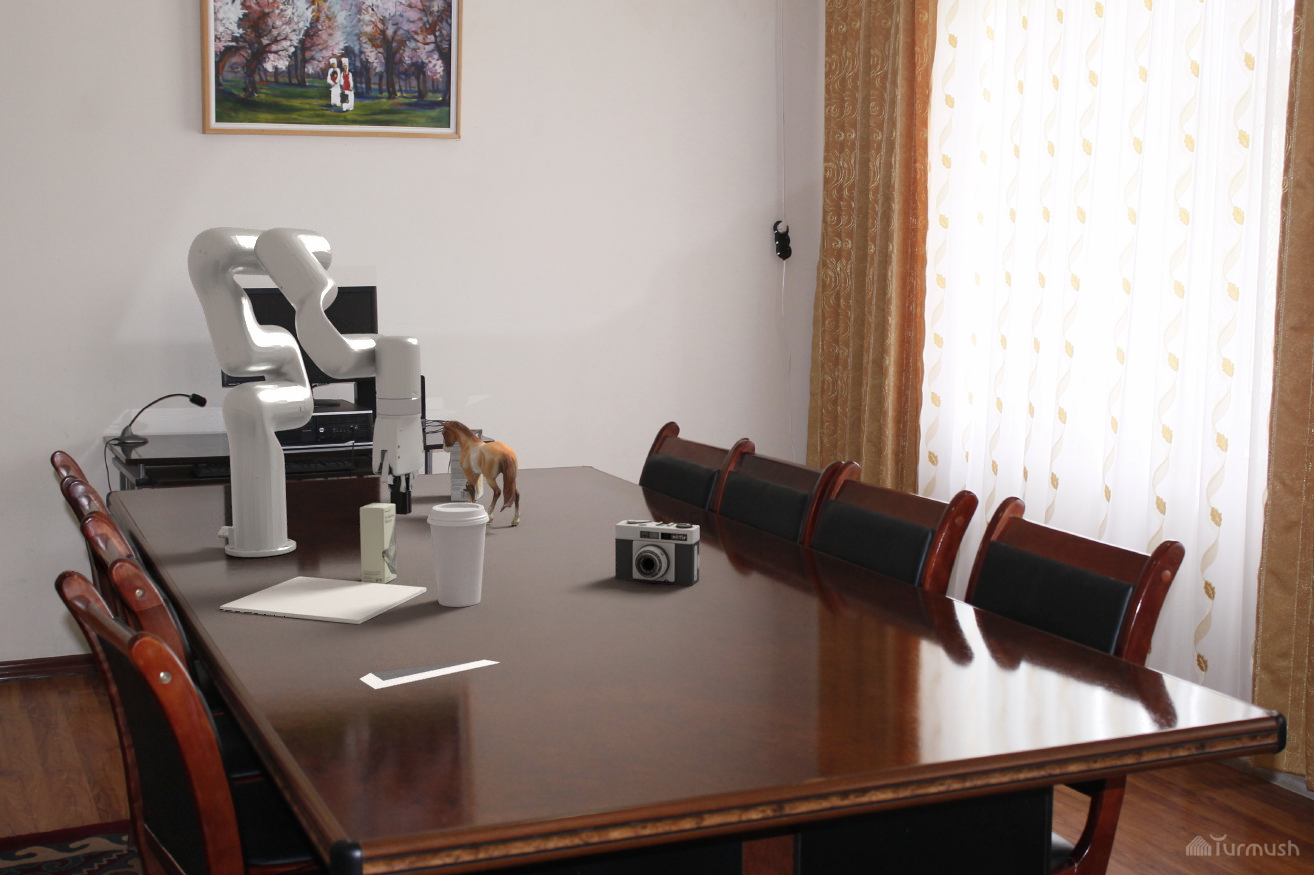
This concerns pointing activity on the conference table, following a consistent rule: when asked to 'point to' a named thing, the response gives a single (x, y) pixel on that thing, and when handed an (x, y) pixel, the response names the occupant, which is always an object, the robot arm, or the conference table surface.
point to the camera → (657, 552)
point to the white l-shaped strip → (418, 673)
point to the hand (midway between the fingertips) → (401, 513)
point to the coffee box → (462, 474)
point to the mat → (325, 599)
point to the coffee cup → (458, 551)
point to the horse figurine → (485, 465)
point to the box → (378, 543)
